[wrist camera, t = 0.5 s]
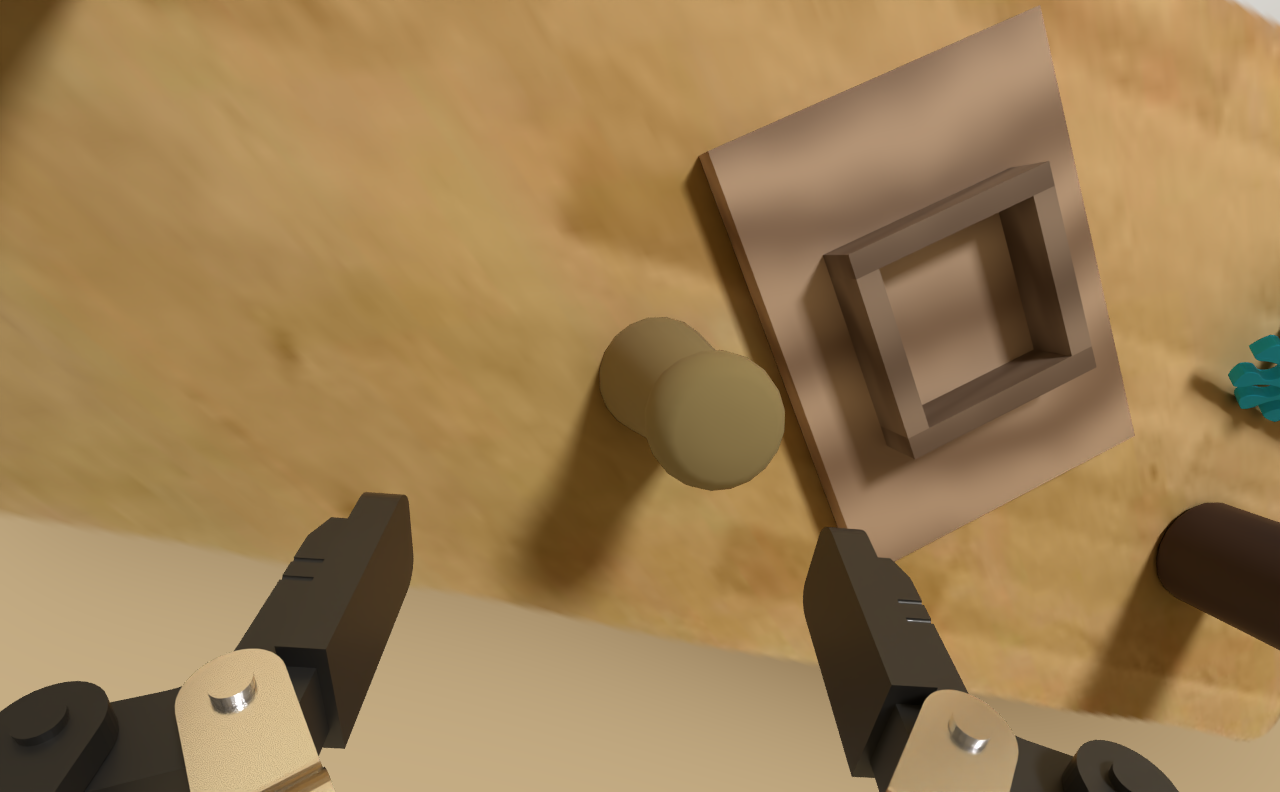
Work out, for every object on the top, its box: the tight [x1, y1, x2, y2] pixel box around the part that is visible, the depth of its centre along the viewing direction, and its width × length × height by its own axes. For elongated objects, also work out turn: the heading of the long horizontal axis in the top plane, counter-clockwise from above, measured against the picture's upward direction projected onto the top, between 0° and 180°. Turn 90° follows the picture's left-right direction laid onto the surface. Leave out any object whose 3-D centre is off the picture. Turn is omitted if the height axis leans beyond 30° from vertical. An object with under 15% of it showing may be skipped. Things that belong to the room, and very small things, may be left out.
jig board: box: [699, 5, 1135, 562], centre depth 34 cm, size 24×18×4 cm
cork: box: [599, 317, 785, 491], centre depth 28 cm, size 6×6×11 cm
